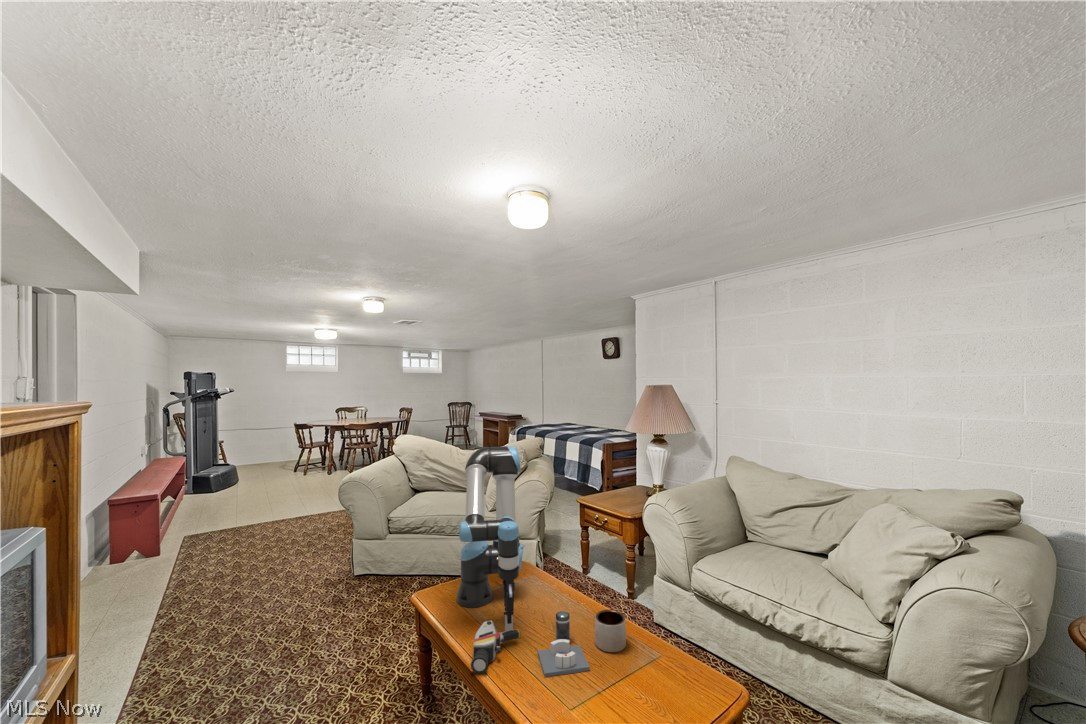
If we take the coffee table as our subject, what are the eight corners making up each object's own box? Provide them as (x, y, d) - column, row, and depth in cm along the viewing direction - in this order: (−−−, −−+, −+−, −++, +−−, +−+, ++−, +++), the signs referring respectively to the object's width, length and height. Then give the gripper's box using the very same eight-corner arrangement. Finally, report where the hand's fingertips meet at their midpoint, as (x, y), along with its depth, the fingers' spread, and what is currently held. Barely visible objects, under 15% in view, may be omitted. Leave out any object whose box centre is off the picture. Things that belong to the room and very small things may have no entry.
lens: (554, 636, 164) (554, 611, 164) (568, 635, 165) (567, 610, 165) (557, 645, 159) (557, 619, 159) (571, 643, 160) (571, 617, 160)
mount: (537, 654, 154) (537, 639, 154) (579, 648, 157) (579, 634, 157) (544, 677, 142) (544, 661, 142) (589, 670, 145) (589, 655, 145)
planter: (629, 639, 162) (628, 613, 162) (621, 657, 152) (621, 628, 152) (600, 632, 166) (600, 606, 167) (591, 649, 156) (590, 621, 157)
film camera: (515, 677, 143) (468, 676, 144) (520, 638, 163) (479, 637, 163) (515, 656, 143) (469, 654, 144) (520, 620, 163) (479, 618, 163)
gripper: (496, 559, 170) (497, 621, 169) (500, 574, 157) (500, 642, 157) (516, 557, 171) (516, 619, 171) (521, 572, 158) (521, 639, 158)
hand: (508, 630), depth 164 cm, fingers closed
